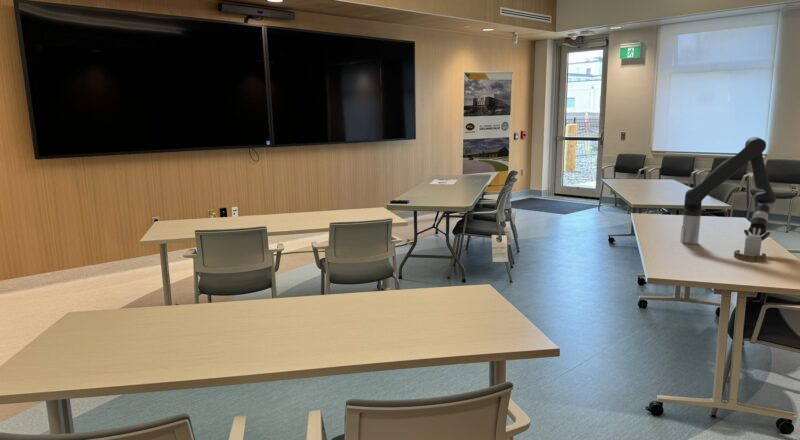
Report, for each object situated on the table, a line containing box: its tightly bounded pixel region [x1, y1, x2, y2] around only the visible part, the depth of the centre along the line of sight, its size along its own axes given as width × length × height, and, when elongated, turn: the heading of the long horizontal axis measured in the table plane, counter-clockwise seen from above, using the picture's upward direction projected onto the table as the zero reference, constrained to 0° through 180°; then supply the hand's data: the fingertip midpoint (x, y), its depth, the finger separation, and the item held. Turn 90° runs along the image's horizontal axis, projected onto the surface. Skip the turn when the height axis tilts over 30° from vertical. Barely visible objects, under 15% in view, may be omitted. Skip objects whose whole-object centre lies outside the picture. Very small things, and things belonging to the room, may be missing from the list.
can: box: [743, 233, 762, 256], centre depth 299 cm, size 8×8×12 cm
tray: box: [733, 249, 767, 262], centre depth 296 cm, size 15×13×3 cm
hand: (754, 245), depth 303 cm, fingers closed
